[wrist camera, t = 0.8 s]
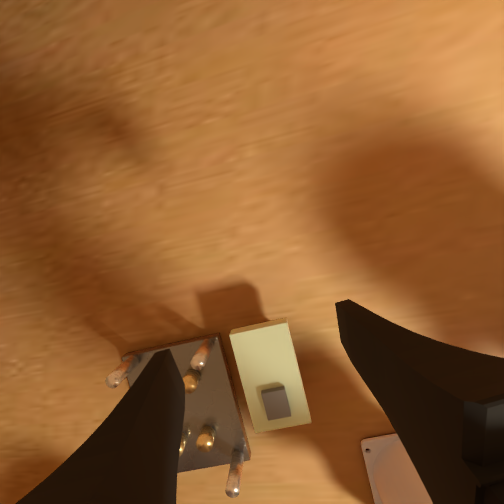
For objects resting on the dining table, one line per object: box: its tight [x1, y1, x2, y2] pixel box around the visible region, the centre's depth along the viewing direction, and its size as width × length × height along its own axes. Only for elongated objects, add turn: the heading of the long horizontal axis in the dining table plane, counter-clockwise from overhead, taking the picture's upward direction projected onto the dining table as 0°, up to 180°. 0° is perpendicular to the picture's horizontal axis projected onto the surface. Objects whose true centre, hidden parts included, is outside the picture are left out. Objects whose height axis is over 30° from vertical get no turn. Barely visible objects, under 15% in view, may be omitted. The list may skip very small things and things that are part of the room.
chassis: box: [105, 333, 251, 498], centre depth 29 cm, size 13×10×5 cm
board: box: [229, 318, 312, 433], centre depth 26 cm, size 9×5×2 cm, turn 14°
